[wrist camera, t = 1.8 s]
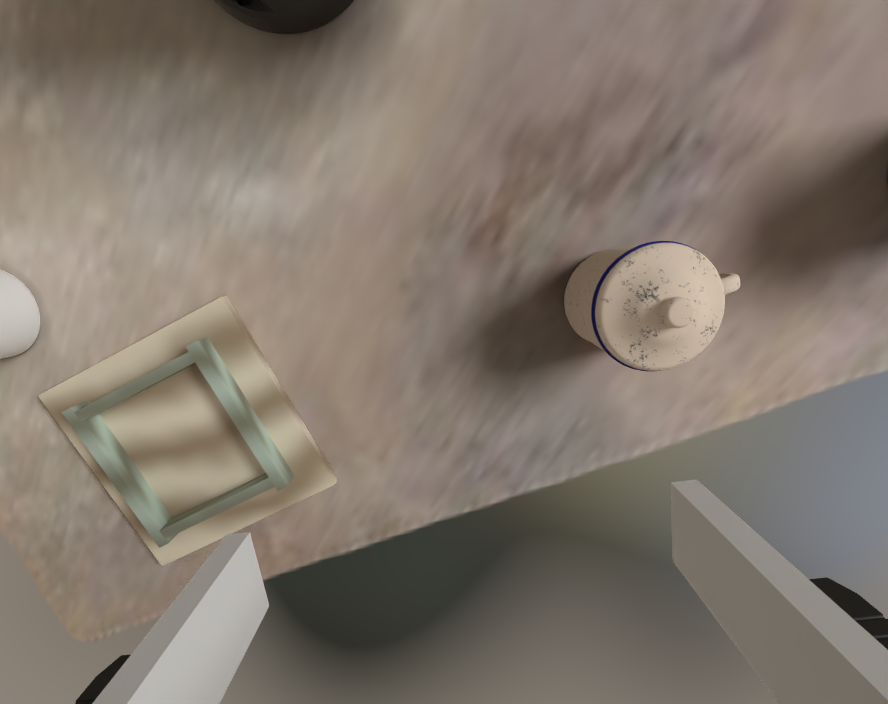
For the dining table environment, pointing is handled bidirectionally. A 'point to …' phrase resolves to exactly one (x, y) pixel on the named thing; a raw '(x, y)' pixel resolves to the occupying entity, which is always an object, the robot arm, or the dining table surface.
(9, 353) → the beverage can
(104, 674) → the robot arm
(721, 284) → the teacup with lid
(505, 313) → the dining table surface
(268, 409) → the board
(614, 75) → the dining table surface
